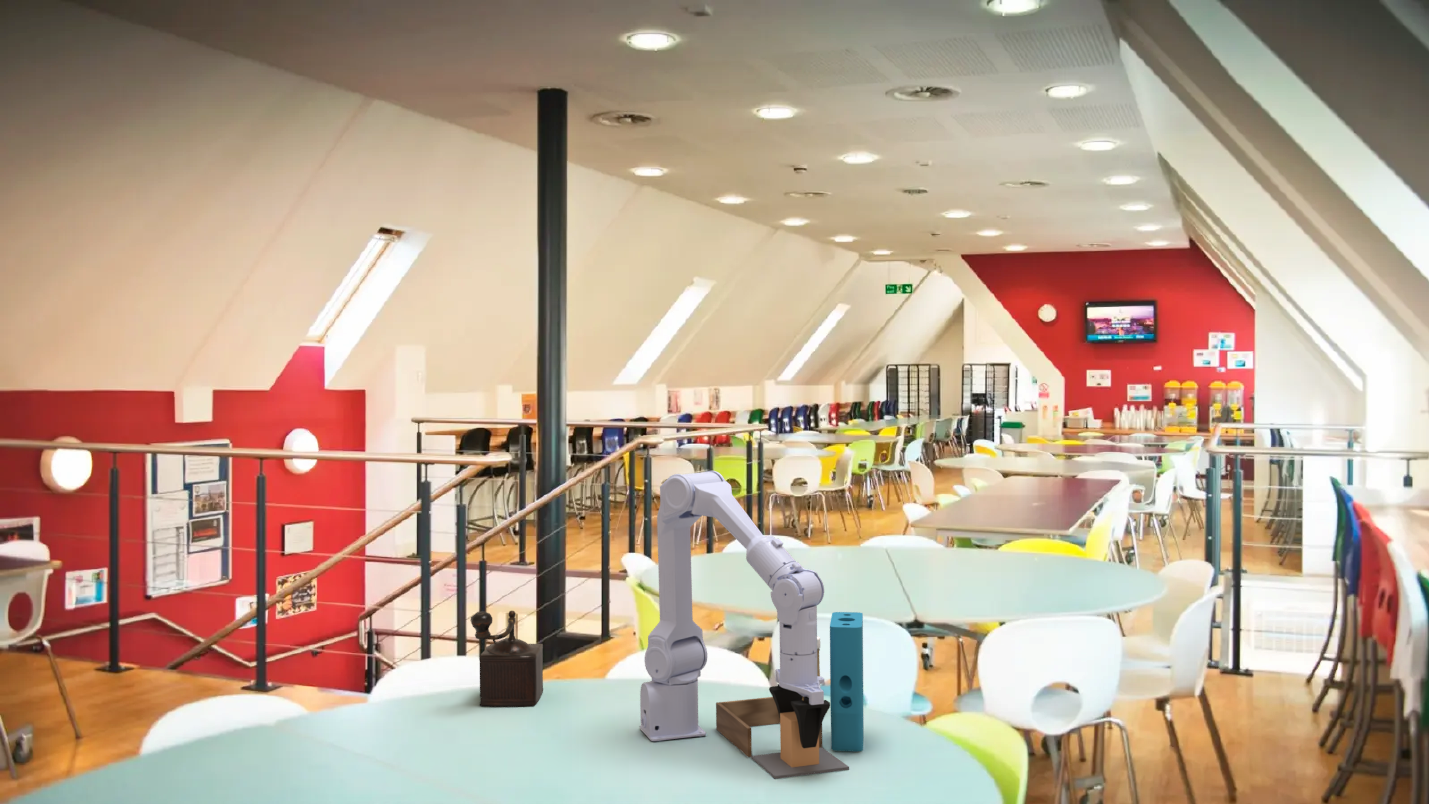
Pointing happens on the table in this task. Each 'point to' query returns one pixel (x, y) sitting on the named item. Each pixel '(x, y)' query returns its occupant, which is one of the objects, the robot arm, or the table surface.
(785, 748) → the orange block
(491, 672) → the manual coffee grinder
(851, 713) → the block
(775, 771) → the charcoal mat
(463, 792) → the table surface
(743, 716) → the walnut box
